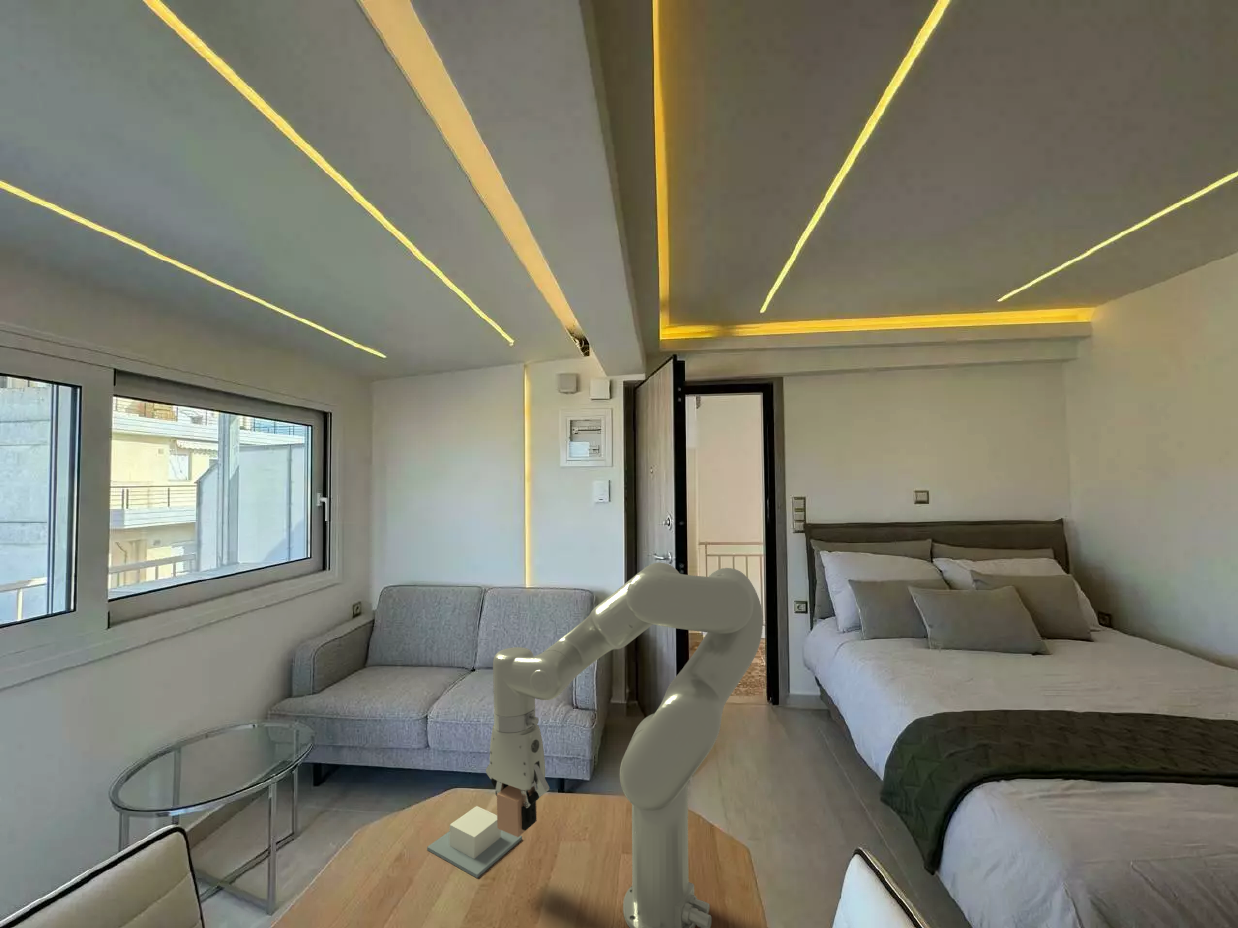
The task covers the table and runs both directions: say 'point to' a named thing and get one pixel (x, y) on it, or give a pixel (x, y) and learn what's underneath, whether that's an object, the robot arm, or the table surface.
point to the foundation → (474, 842)
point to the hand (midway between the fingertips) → (517, 819)
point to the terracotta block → (510, 810)
